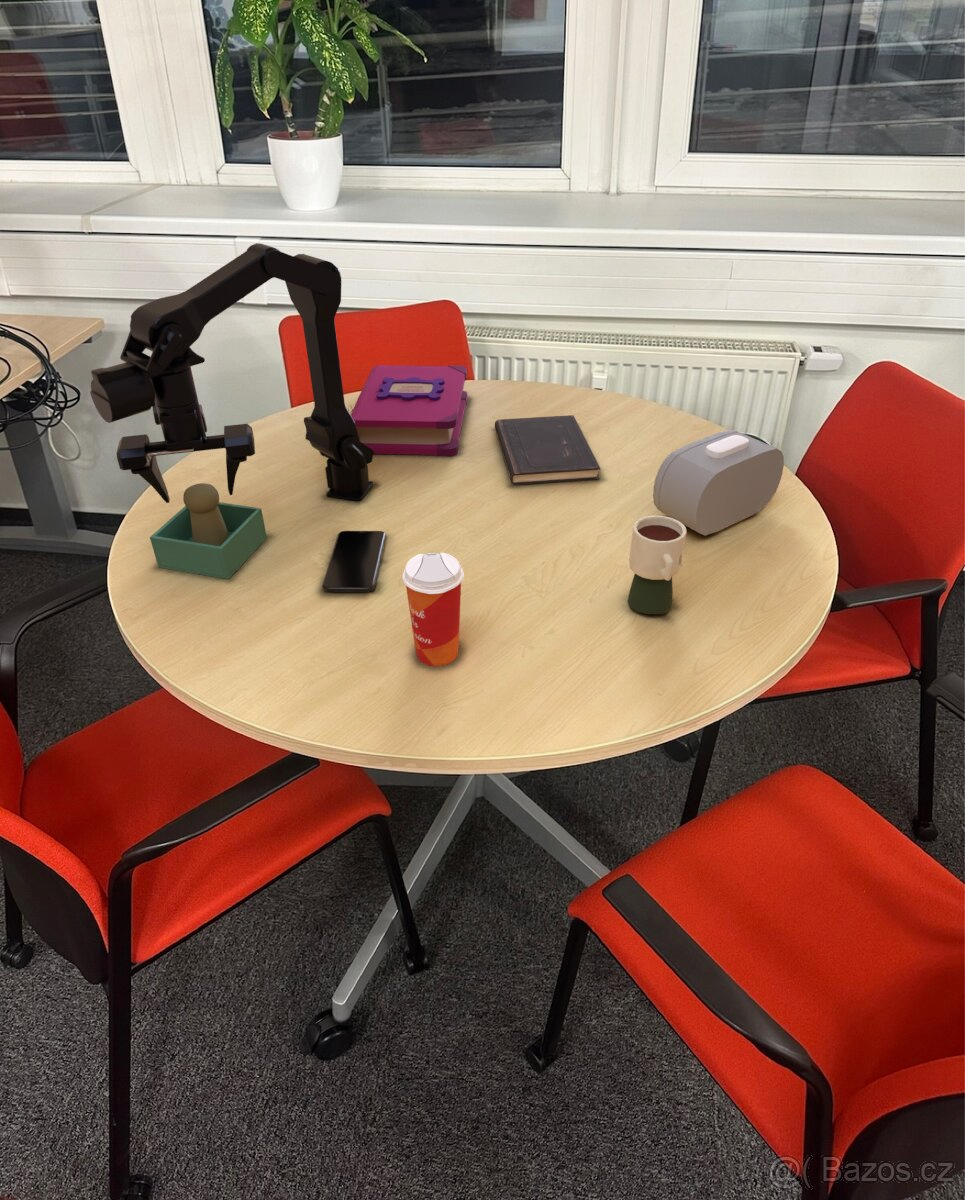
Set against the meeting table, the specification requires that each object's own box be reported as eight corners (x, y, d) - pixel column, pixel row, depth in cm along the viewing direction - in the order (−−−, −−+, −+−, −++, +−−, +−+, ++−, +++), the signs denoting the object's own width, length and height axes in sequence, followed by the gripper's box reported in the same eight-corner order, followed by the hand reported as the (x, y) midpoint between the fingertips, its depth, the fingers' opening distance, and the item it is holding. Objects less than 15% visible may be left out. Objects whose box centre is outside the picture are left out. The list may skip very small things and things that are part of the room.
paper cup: (408, 636, 114) (401, 551, 105) (464, 632, 114) (461, 547, 106) (409, 674, 107) (401, 586, 99) (468, 670, 108) (465, 583, 99)
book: (347, 454, 158) (342, 416, 153) (372, 395, 180) (369, 361, 176) (456, 456, 157) (455, 418, 152) (468, 397, 179) (467, 363, 175)
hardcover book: (573, 425, 167) (573, 414, 166) (599, 479, 149) (600, 468, 148) (494, 430, 166) (494, 419, 164) (511, 485, 147) (511, 473, 146)
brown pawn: (222, 561, 128) (208, 499, 121) (187, 557, 129) (170, 495, 122) (239, 541, 133) (226, 480, 126) (205, 537, 134) (190, 476, 127)
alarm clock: (730, 486, 146) (744, 415, 138) (774, 508, 140) (791, 435, 132) (647, 522, 137) (656, 448, 129) (690, 547, 131) (703, 471, 123)
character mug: (686, 626, 115) (699, 547, 107) (636, 631, 114) (646, 552, 106) (660, 581, 123) (672, 505, 116) (614, 586, 123) (622, 510, 115)
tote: (267, 537, 134) (261, 508, 131) (228, 579, 125) (221, 548, 122) (200, 527, 137) (193, 498, 134) (158, 567, 128) (149, 537, 124)
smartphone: (374, 593, 122) (387, 534, 134) (374, 588, 121) (386, 530, 134) (321, 593, 122) (338, 534, 135) (320, 588, 121) (338, 529, 134)
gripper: (243, 372, 124) (261, 466, 133) (112, 385, 120) (139, 480, 130) (245, 401, 115) (263, 499, 124) (103, 416, 112) (133, 516, 121)
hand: (199, 497), depth 125 cm, fingers open, 9 cm apart
